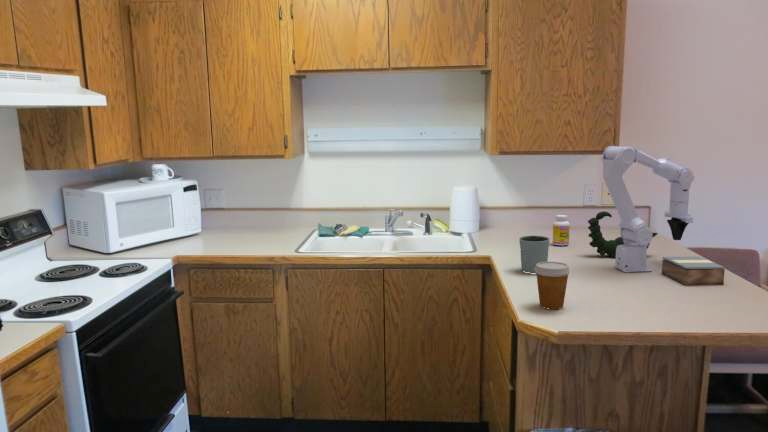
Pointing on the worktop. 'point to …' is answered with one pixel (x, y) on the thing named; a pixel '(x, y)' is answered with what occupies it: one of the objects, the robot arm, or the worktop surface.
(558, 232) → the supplement bottle
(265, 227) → the worktop surface
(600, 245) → the toy figurine
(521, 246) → the grey cup
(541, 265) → the disposable coffee cup
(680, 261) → the lid
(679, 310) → the worktop surface
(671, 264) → the box
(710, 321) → the worktop surface
